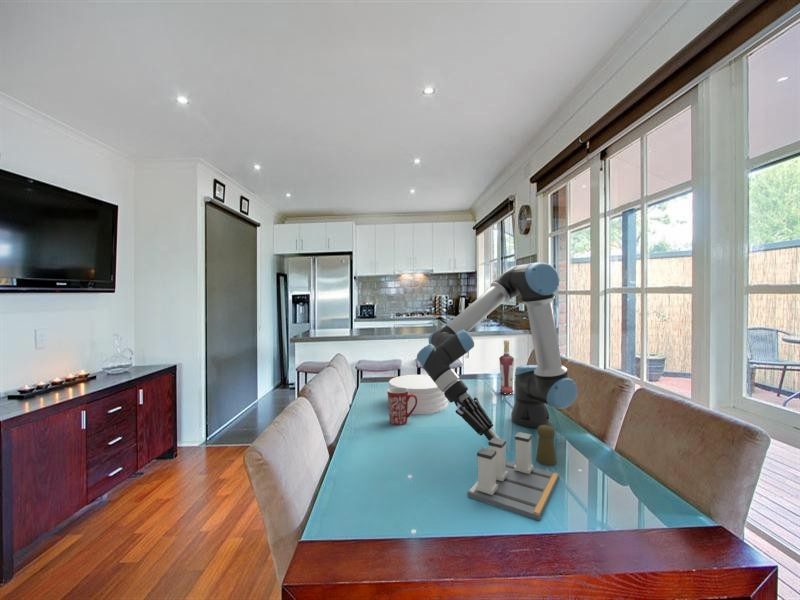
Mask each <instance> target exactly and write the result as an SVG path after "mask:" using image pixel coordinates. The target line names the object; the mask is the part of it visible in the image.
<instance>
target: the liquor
mask: <svg viewBox="0 0 800 600" xmlns="http://www.w3.org/2000/svg"><path fill="white" fill-rule="evenodd" d="M509 346H510V340H503V347H504V348H503V355H501V356H500V357H498V358H499V372H500V390H499V392H500V393H501V394H503V393H506V394H510V393H512V394H513V393H514V392H515V391H514V387H513V385H514V366H515V365H514V364H515V363H514V360H515V359H514V357H513V356H512V355H510V347H509ZM510 395H511V394H510Z"/></svg>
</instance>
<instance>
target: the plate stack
mask: <svg viewBox="0 0 800 600" xmlns="http://www.w3.org/2000/svg"><path fill="white" fill-rule="evenodd" d="M388 386H389V387H388V389H390V388H395V387H402V388H407V389H408V395H410V394H414V395H416V397H417V405H416V408H415V409H414V411H413V412H412V414H411V415H431V414H436V413H439V411H440V412H442V411H441V410H443V411H445V410H446V409H447V408H448V402H449V401H448V399H447V398H446V397H445V395H444V393H445V392H442V391H441V390H440V389H439V388H438V387H437V385H436V383H435V382H434V381H433V380H432V378H431V377H430V376H429V375H428V374H408V375H406V374H405V375H400V376H396V377H393V378H391V379H390V380H389V381H388ZM414 405H415V398H414V397H410V398H409V401H408V408H407V413H409V412H410V411H411V410H412V409H413V407H414ZM446 407H447V408H446ZM445 408H446V409H445ZM444 409H445V410H444ZM435 412H436V413H435ZM430 413H431V414H430Z"/></svg>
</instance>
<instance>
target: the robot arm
mask: <svg viewBox="0 0 800 600" xmlns="http://www.w3.org/2000/svg"><path fill="white" fill-rule="evenodd" d="M559 286H560V276H559V273H558V272H557V270H556V269H555V267H554V266H552V265H551V264H549V263H548V262H537V261H536V262H531V263H527V264H526V263H525V264H518V265H514V266H512V267H510V268H509V269H507V270H506V271H505V272H503V273H502V274H500V276H498V277H497V278H496V279H495V280H494V281H493V282H491V283H490V287H489V288H488V289H487V290H486V291H484V293H482V294H481V295H480V296H479V297H478V298H476V299H475V300H474V301H473V302H472V303H471V304H469V305H468V306H467V307H466V308H465V309H463V310H462V311H461V312H460V313H459V314H457V315H456V316H455V317H453V319H452V320H450V321H449V322H448V323H447V324H446V325H445V326H443V327H442V328H441V329H440V330H435V331H433V332H431V334H430V335H429V336H428V344H427V345H425V346H424V347H423V348H421V349H420V350H419V351H418V353H417V354H416V360H417V361H418V363H419V364H420V366H421V368H422V369H423V370H424V371H425V372H426V374H427V375H429V376H430V377H431V378H432V380H433V381H434V382H435V383H436V385H437V387H438V388H439V389H440V390H441V391H442V392H445V393H444V395H445V397H446V398H447V399H448V401H447V402H449V403H453V402H454V404H455V407H456V410H455V413H456V414H457V415H458V416H460V417H461V418H462V419H463V420H464V421H465V422H466V423H467V425H469V427H471V429H473V430H474V432H475V433H476V434H478V435H479V436H483V435H484V437H485V438H486V439H487V441H488V442H489V441H490V440H491V439H492V438H493V437H494V438H498V439H501V438H500V437H499V435H498V434H497V433H496V432H495V431H494V429H493V427H494V424H493V422H492V420H491V418H490V417H489V416H488V414H487V412H486V411H485V410H484V408H483V407H482V405H481V403H480V401H479V399H478V398H477V397H474V398H473V397H472V396H471V395H470V394H469V393H468V390H469V387H468V386H467V385H466V384H465V382H464V381H463V380H461V379H460V376H459V374H457V372H456V371H455V370H454V369H453V367H452V366H451V365H453V363H455V362H456V361H457V360H459V359H460V358H461V357H463V356H464V355H466V354H468V353H469V351H471V350H472V349H473V348H474V347H475V341H474V339H473V337H472V335H470V333H469V332H470V331H471V330H472V329H474V328H475V327H476V326H477V325H478V324H480V322H482V321H483V320H484V319H485V318H487V316H489V315H490V314H491V313H492V312H493V311H495V309H496V308H498V307H499V306H500V305H501V304H503V303H507V302H510V300H512V298H515V297H518V296H520V298H521V299H520V300H521V302H522V303H523V304H524V305H525V306H526V309H527V315H528V316H527V317H528V320H529V327H530V332H531V333H530V334H531V338H532V343H533V349H534V356H535V361H536V364H529V365H528V364H525V365H519V366H516V368H515V372H514V379H515V383H514V384H515V388H514V389H515V391H514V392H515V393H514V394H515V400H514V401H515V402H514V404H513V408H512V411H511V414H510V415H511V416H510V418H511V421H512V422H513V423H514V424H516V425H518V426H522V427H527V428H535V429H538V427H539V426H541V425H548V426H551V416H550V414H549V410H548V408H547V405H548V406H549V407H551V408H555V409H558V410H562V409H566V408H568V407H570V406H572V404H573V403H574V401H575V400H576V399H577V395H578V387H577V386H578V385H577V383H576V381H574V380H573V379H572V378H570V377H569V374H568V373H569V372H568V368H567V367H566V366H564V365H563V364H562V357H561V353H560V348H559V347H560V346H559V340H558V335H557V329H556V323H555V317H554V310H553V305H552V302H553V300H554V299H555V297H556V294H555V292H556V291H557V290H558V287H559ZM506 447H507V446H506V444H505V448H506Z"/></svg>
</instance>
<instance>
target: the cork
mask: <svg viewBox="0 0 800 600" xmlns="http://www.w3.org/2000/svg"><path fill="white" fill-rule="evenodd" d="M536 429H537V430H536V431H537V432H536V433H537V435H538V442H537V443H538V444H537V451H536V457H535V461H536V463H538V464H541V465H543V466H548V467H549V466H551V467H552V466H556V465H557V455H556V447H555V440H554V438H555V435H556V430H555V428H554V426H553V427H552V426H551V425H541V426H539V427H538V428H536Z"/></svg>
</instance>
